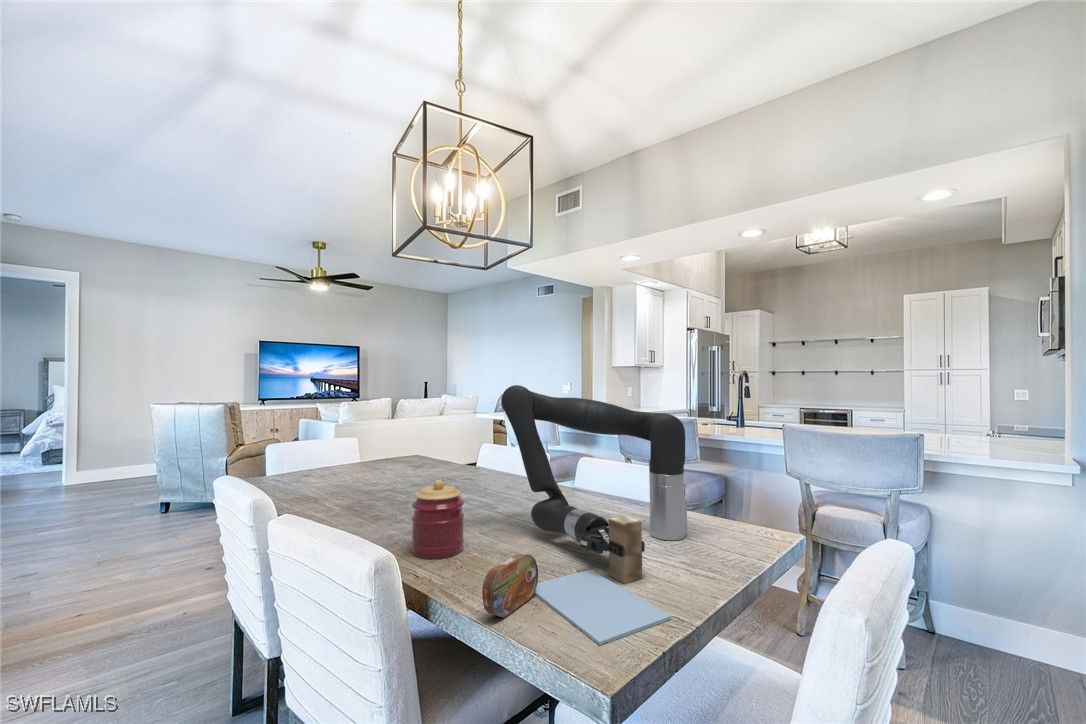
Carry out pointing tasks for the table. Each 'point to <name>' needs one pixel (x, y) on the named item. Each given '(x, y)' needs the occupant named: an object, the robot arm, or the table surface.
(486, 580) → the tin
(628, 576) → the walnut block
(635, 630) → the mat
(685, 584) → the table surface
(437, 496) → the canister
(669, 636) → the table surface
